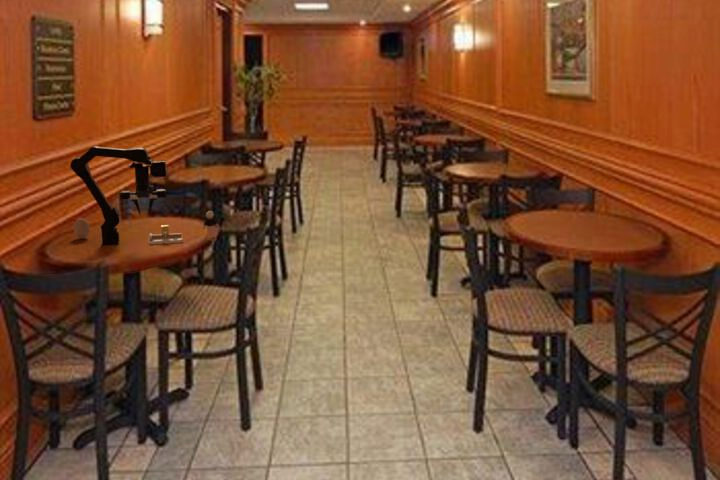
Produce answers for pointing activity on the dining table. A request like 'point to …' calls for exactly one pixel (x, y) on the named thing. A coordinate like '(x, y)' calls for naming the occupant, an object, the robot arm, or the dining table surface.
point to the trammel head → (165, 229)
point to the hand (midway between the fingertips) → (144, 214)
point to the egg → (81, 228)
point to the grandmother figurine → (210, 226)
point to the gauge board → (161, 239)
